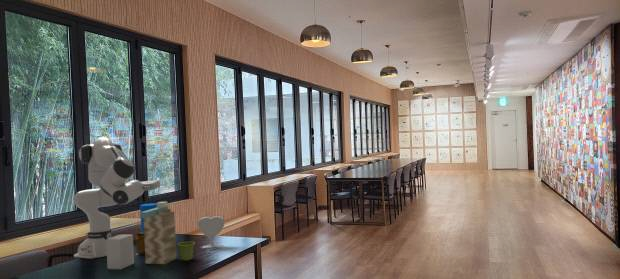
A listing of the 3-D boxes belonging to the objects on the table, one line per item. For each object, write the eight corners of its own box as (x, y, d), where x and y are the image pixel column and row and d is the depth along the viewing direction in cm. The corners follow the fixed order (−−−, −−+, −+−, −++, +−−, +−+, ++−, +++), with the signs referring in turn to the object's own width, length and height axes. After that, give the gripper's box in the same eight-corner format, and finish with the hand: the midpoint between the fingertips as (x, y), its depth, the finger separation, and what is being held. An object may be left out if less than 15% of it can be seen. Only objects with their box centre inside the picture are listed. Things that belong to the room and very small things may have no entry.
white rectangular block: (107, 268, 236) (106, 239, 236) (121, 263, 246) (119, 234, 246) (121, 269, 234) (119, 239, 234) (134, 263, 244) (132, 234, 244)
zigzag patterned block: (145, 263, 243) (143, 212, 243) (157, 258, 254) (154, 209, 253) (165, 264, 240) (163, 212, 240) (176, 258, 251) (174, 208, 251)
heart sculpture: (198, 248, 273) (197, 218, 273) (199, 246, 278) (198, 217, 278) (224, 246, 275) (223, 216, 274) (225, 244, 280) (224, 215, 279)
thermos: (142, 242, 296) (140, 204, 296) (159, 240, 300) (157, 202, 299) (141, 245, 286) (139, 206, 286) (159, 244, 289) (157, 204, 289)
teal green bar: (140, 218, 233) (139, 207, 233) (162, 211, 253) (162, 201, 253) (146, 218, 232) (145, 207, 232) (168, 211, 253) (167, 201, 253)
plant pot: (194, 256, 254) (194, 240, 254) (196, 260, 245) (196, 244, 245) (177, 258, 251) (176, 242, 251) (178, 262, 242) (178, 246, 242)
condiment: (138, 252, 270) (137, 232, 270) (152, 251, 271) (151, 231, 271) (134, 255, 263) (133, 234, 263) (149, 254, 264) (148, 233, 264)
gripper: (153, 181, 227) (163, 175, 241) (114, 184, 229) (126, 178, 242) (155, 193, 228) (165, 186, 242) (116, 197, 229) (128, 190, 243)
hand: (145, 182), depth 242 cm, fingers open, 8 cm apart
